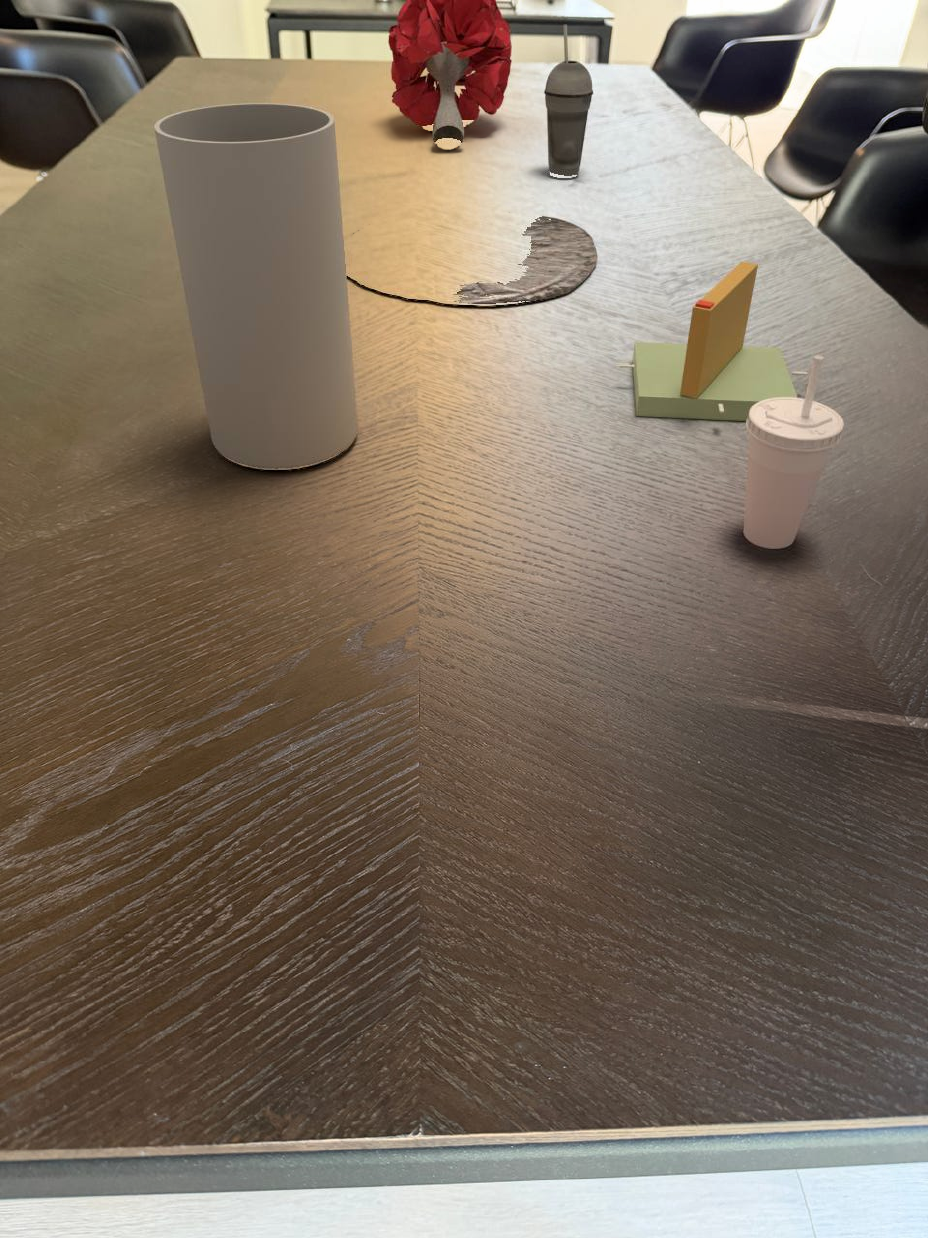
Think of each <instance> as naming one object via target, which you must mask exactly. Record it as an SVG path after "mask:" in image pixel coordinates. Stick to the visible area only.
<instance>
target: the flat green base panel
mask: <svg viewBox="0 0 928 1238" xmlns="http://www.w3.org/2000/svg"><path fill="white" fill-rule="evenodd" d="M633 344H634V345H633V351H632V352H633V353H632V364H621V363H620V364H619V368H624V369H632V371H633V373H632V374H633V383H634V384H633V386H634V400H635V402H634V403H635V413H636V414H635V416H636V417H645V418H646V417H647V418H648V417H649V418H673V419H690V420H691V419H693V420H711V421H713V420H714V421H734V422H735V421H736V422H746V421H747V419H748V415H749V410H750V408H751V407H752V406H753V405H755V404H756V403H758V402H760V401H762V400H766V399H770V398H777V397H794V398H799V397H798V393H797V392H796V389H795V386H794V383H793V381H792V378H791V375H793V376H808V375H809V373H808V371H791V375H790V373H789V369H788V367H787V364H786V362H785V358H784V356H783V353H782V351H781V347H774V346H773V347H769V346H746V345H745V346H744V345H743V347H742V348H741V349H740V350H739V352H738V353H737V354H736V355H735V356H734V357H733V358H732V359H731V361H730V362H729V363H728V364H727V365H726V366H725V367H724V368H723V370H722V371H721V372H720V373H719V374H718V375H717V376H716V377H715V379H714V380H713V381H712V382H711V383H710V384H709V385H708V386H707V388H706V389H705V390H704V391H703V392H702V393H701V394H700V395H699V397H698V398H697V399H696V398H691V397H687V396H683V395H680V390H681V384H682V377H683V370H684V363H685V357H686V350H687V343H671V342H669V343H667V342H647V341H645V342H644V341H635V342H634V343H633Z"/></svg>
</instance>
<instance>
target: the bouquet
mask: <svg viewBox="0 0 928 1238" xmlns="http://www.w3.org/2000/svg"><path fill="white" fill-rule="evenodd" d="M396 21H397V24H395V25H391V26H390V27H389V29H388V33H389V34H388V41H387V42H388V46H389V50H390V51H391V53H392V54H391V55H392V61H391V66H390V67H391V69H390V74H391V81H393V83H394V84H395V90H394V91H393V92H392V95H391V97H392V99H391V103H392V104H394V105H395V106H396V107H397V108H398V109H399V112H400V113H401V114H402V115H403V116H404V117H405V118H407V119H409V120H410V121H411V122H412V123H413V124H415V125H416V126H418V125H419V126H418V127H422V126H427V125H432V124H434V125H433V131H432V140H433V143H434V142H436V141H437V140H438V139H442V138H453V139H457V140H460V141H461V143H462V144H463V143H464V137H465V127H463V122H462V120H475V121H477V119H478V117H479V115H480V112H481V109H482V111H483V112H484V113H486V114H488V115H490V116H494V115H496V114H497V112H498V110H499V109H500V108H501V106H502V105H503V102H504V98H505V95H504V94H505V92H506V90H507V88H508V84H509V77H510V74H511V66H512V61H513V60H512V59H511V57H512V49H513V48H512V41H511V25H510V24H509V23H508V22H507V20H506V18H503V16H502V12H501V11H500V8H499V7H498V3H497V0H406V1H405V2H404V3H403V4H402V6H401V8H400V9H399V12H398V15H397V18H396ZM425 70H426V71H427V72H428V73H427V74H426V75H422V74H423V73H424V71H425ZM456 87H464V88H459V89H460V92H459V95H458V94H457V92H456ZM480 108H481V109H480Z"/></svg>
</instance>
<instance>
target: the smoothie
mask: <svg viewBox="0 0 928 1238" xmlns="http://www.w3.org/2000/svg"><path fill="white" fill-rule="evenodd" d="M823 361H824V357H823V356H822V355H814V357H813V360H812V366H811V370H810V373H809V379H808V383H807V386H806V390H805V391H806V392H805V396H804V398H803V397H802V398H800V397H798V398H794V397H777V398H770V399H766V400H762V401H760V402H758V403H756V404H755V405H753V406H752V407H751V408H750V410H749V415H748V419H747V421H745V428H746V430H747V432H748V433H749V440H748V455H747V469H746V470H747V471H746V484H745V485H746V487H745V501H744V517H743V531H742V532H743V536H744V537H745V539H746V540H747V541H749V542H750V543H751V544H753V545H754V546H758V547H761V548H765V549H772V550H774V549H777V550H778V549H779V550H780V549H785V548H787V547H790V546H791V545H792V544H793V543H794V542H795V539H796V537H797V534H798V531H799V530H800V528H801V525H802V522H803V520H804V517H805V515H806V512H807V511H808V508H809V505H810V503H811V500H812V498H813V495H814V493H815V491H816V488H817V486H818V483H819V481H820V479H821V477H822V474H823V471H824V469H825V466H826V464H827V463H828V460H829V457H830V455H831V452H832V450H833V447H834V446H837V445H838V444H839V443H840V441H841V439H842V434H843V433H842V432H843V429H844V425H845V424H844V419H843V418H842V416H841V415H840V414H839V413H838V412H837V411H836V410H834V409H833V408H831V407H830V406H827V405H825V404H823V403H820V402H818V401H814V398H815V395H816V390H817V385H818V382H819V378H820V373H821V368H822V365H823Z"/></svg>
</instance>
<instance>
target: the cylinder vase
mask: <svg viewBox="0 0 928 1238" xmlns="http://www.w3.org/2000/svg"><path fill="white" fill-rule="evenodd" d="M153 128H154V133H155V139H156V145H157V150H158V155H159V160H160V166H161V171H162V178H163V181H164V188H165V192H166V197H167V203H168V209H169V210H168V211H169V216H170V220H171V226H172V232H173V237H174V243H175V247H176V253H177V254H176V255H177V260H178V264H179V270H180V275H181V280H182V281H181V282H182V286H183V291H184V296H185V297H184V298H185V302H186V308H187V313H188V319H189V325H190V329H191V335H192V339H193V340H192V341H193V346H194V352H195V357H196V362H197V367H198V372H199V373H198V374H199V378H200V384H201V389H202V395H203V400H204V406H205V412H206V417H207V423H208V427H209V432H210V439H211V442H212V444H213V447H214V446H215V447H214V449H215V448H216V449H217V450H218V451H219V452H220V453H221V454H223V455H224V456H225V457H227V458H229V459H231V460H233V461H235V462H238V463H241V464H245V465H248V466H252V467H258V468H260V467H261V468H270V469H271V468H275V469H278V468H293V467H300V466H305V465H310V464H314V463H317V462H320V461H323V460H326V459H328V458H330V457H333V456H335V455H337V454H339V453H341V452H342V451H344V450H345V451H347V450H348V449H349V447H351V445H352V444H353V443H354V441H355V440H356V437H357V435H358V431H359V421H358V420H359V419H358V409H357V394H356V382H355V370H354V369H355V368H354V354H353V342H352V332H351V331H352V330H351V318H350V305H349V303H350V302H349V292H348V291H349V290H348V277H347V276H346V264H345V251H344V239H345V238H344V227H343V225H344V224H343V213H342V199H341V187H340V174H339V161H338V149H337V136H336V134H337V133H336V121H335V117H334V116H333V115H332V114H331V113H330V112H329V111H326V110H323V109H320V108H316V107H311V106H306V105H301V104H299V105H298V104H290V103H289V104H288V103H275V102H274V103H272V102H264V103H263V102H252V103H251V102H248V103H247V102H245V103H229V104H218V105H209V106H203V107H196V108H192V109H186V110H183V111H179V112H175V113H171V114H169V115H167V116H164V117H162V118H160V119H159V120H157V121H156V122H155V124H154V126H153ZM216 449H215V450H216ZM217 450H216V451H217ZM218 451H217V452H218ZM345 451H344V452H345ZM219 452H218V453H219ZM220 453H219V454H220ZM221 454H220V455H221ZM341 454H342V453H341ZM303 469H305V468H303ZM303 469H302V470H303ZM297 470H299V469H297ZM297 470H296V471H297ZM261 471H263V470H261ZM289 471H291V470H289ZM289 471H288V472H289ZM263 472H264V471H263Z"/></svg>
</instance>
